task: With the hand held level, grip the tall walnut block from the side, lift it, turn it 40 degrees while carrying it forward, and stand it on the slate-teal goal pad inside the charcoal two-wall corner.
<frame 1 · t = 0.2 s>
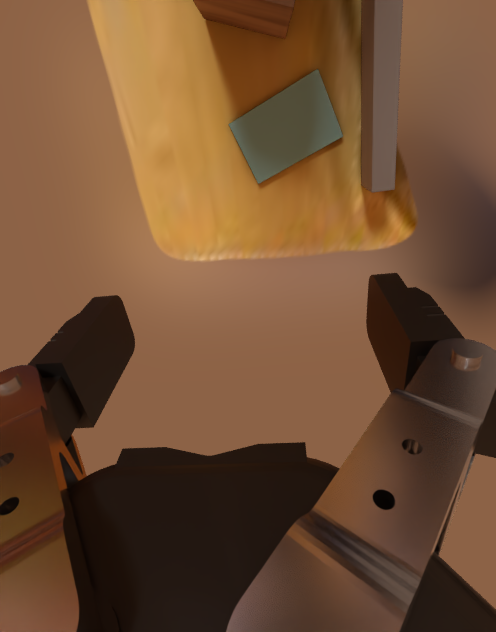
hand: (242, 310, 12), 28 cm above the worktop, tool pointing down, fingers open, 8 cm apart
goal pad: (285, 130, 34), on the worktop
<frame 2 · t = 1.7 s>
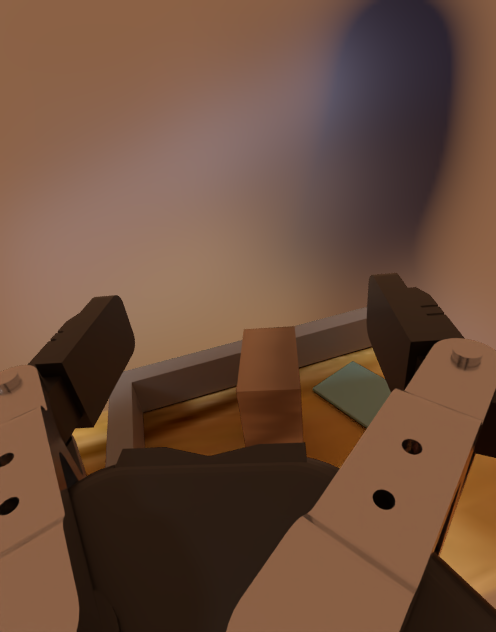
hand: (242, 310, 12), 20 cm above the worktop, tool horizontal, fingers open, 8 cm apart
walnut block: (278, 449, 30), on the worktop
goal pad: (369, 399, 34), on the worktop
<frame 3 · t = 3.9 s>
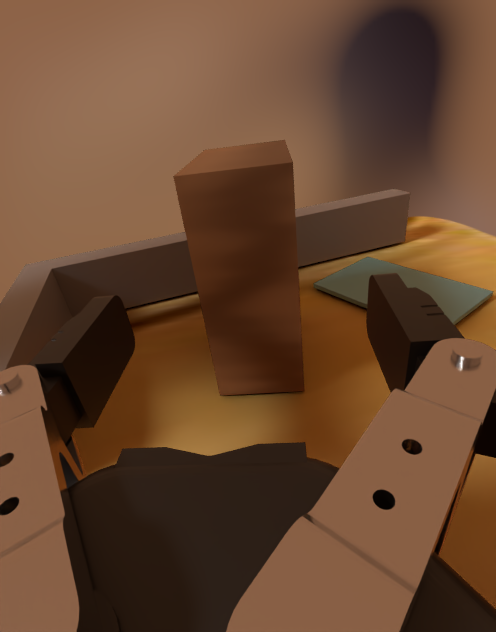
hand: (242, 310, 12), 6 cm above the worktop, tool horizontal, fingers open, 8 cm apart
walnut block: (262, 348, 20), on the worktop
goal pad: (396, 291, 24), on the worktop
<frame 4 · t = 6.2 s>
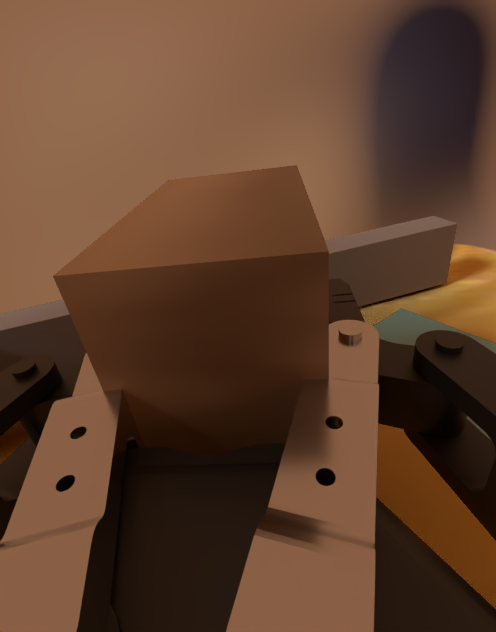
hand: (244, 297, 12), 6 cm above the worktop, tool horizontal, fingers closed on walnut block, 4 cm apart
walnut block: (260, 477, 13), on the worktop, touching gripper
goal pad: (449, 371, 17), on the worktop
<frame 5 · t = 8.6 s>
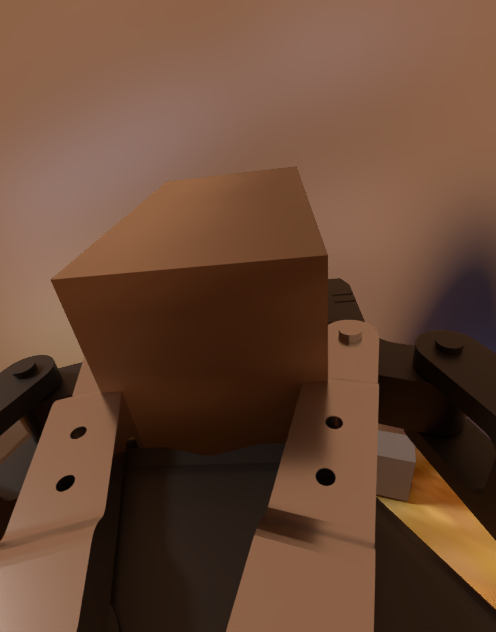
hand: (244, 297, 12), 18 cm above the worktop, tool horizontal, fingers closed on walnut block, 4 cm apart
walnut block: (260, 479, 13), point 12 cm above the worktop, touching gripper
when the fingers open (8 cm above the worktop, at t = 11.5 s): walnut block drops 1 cm, resting on goal pad.
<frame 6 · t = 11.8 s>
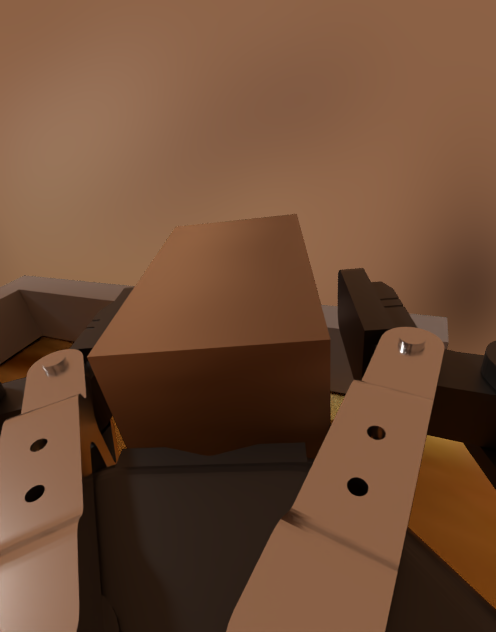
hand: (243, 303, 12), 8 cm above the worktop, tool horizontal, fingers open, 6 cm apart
walnut block: (263, 502, 14), resting on goal pad
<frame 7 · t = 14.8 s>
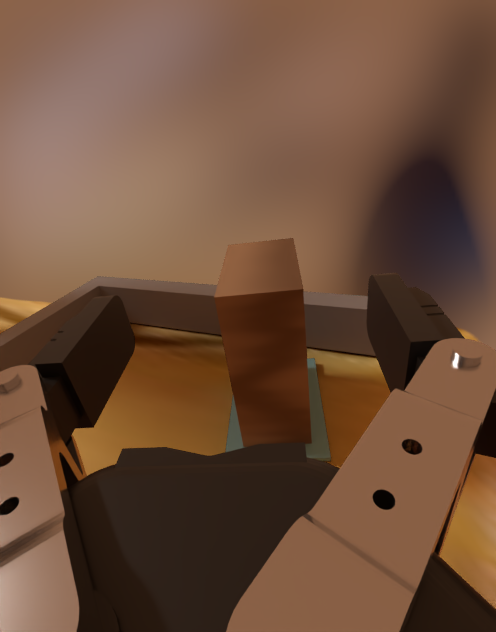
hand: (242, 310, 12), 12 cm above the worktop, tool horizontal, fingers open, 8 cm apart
walnut block: (275, 402, 24), resting on goal pad
goal pad: (276, 405, 24), on the worktop
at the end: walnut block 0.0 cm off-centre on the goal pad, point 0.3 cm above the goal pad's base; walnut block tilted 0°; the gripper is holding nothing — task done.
